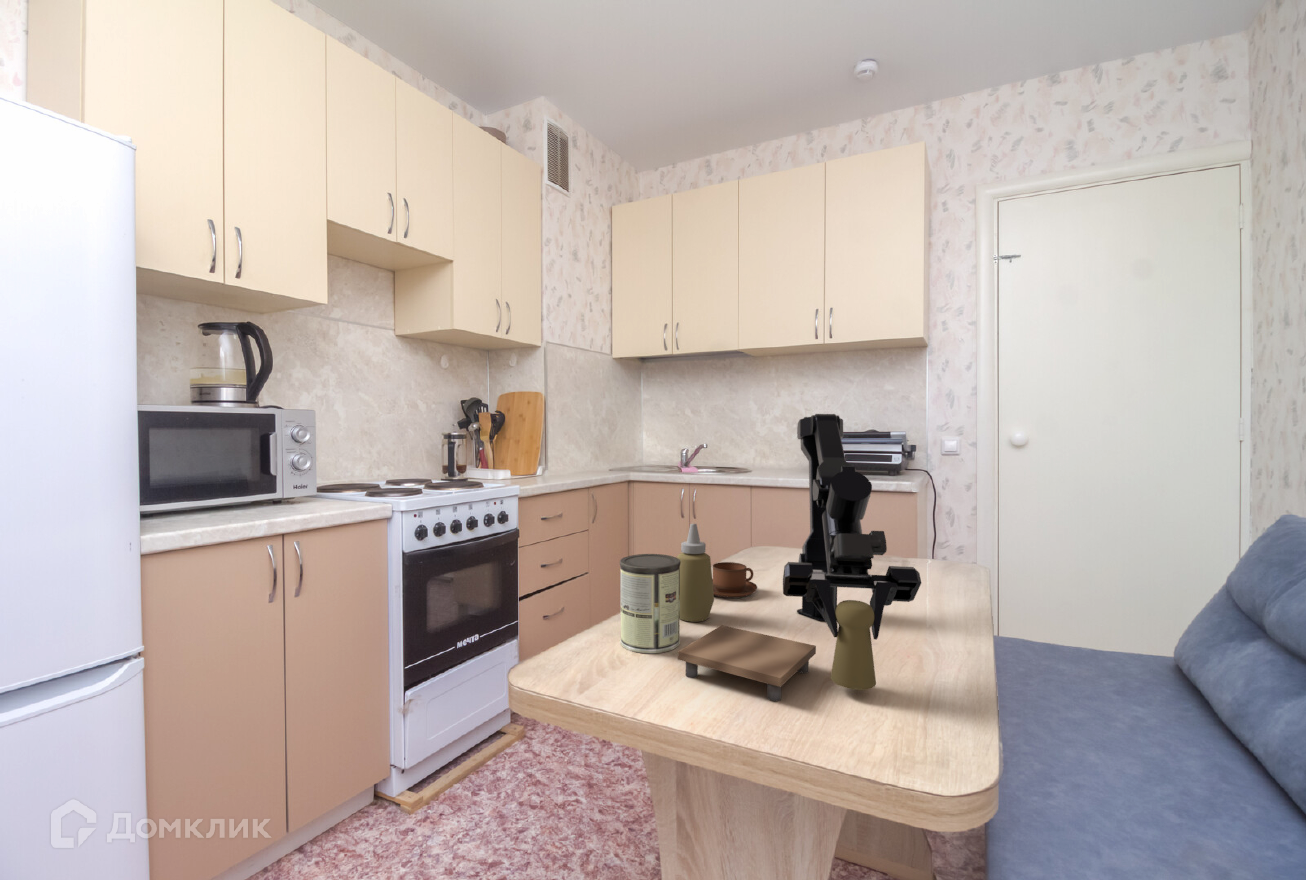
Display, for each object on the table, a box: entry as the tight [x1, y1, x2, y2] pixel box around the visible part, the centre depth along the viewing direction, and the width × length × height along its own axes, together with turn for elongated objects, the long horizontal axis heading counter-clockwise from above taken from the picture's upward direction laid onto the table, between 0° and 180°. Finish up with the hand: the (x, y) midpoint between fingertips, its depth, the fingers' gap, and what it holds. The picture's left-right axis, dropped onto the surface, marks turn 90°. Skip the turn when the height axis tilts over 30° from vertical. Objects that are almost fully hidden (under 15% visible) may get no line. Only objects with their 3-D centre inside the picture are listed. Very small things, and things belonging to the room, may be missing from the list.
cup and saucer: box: [712, 561, 758, 599], centre depth 132 cm, size 12×12×6 cm
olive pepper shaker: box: [830, 599, 877, 691], centre depth 84 cm, size 6×6×11 cm
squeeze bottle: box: [676, 523, 715, 623], centre depth 115 cm, size 8×8×18 cm
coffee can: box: [619, 553, 681, 654], centre depth 103 cm, size 10×10×14 cm
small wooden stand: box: [677, 624, 817, 702], centre depth 91 cm, size 16×14×4 cm
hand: (855, 637), depth 83 cm, fingers closed on olive pepper shaker, 5 cm apart
